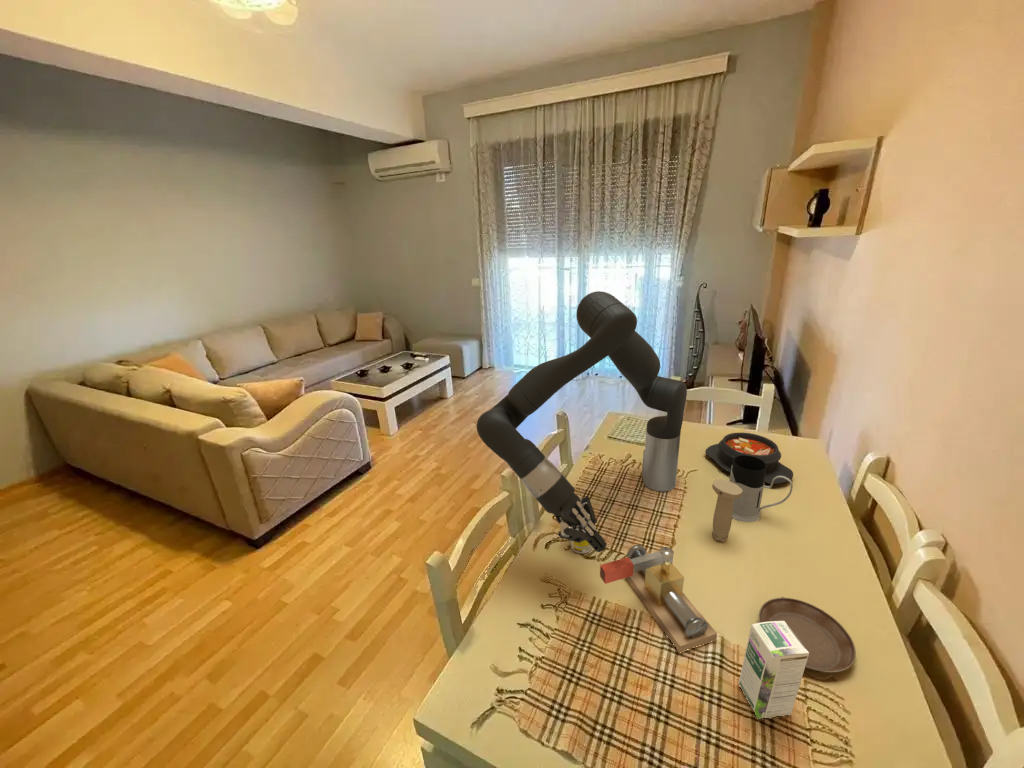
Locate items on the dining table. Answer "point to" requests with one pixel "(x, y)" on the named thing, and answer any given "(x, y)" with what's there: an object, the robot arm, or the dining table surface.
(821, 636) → the saucer
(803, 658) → the syrup box
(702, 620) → the brass ball valve
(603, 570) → the valve lever
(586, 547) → the supplement bottle
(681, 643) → the oak base board
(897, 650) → the dining table surface
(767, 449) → the casserole
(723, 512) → the handle
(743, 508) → the glass holder
